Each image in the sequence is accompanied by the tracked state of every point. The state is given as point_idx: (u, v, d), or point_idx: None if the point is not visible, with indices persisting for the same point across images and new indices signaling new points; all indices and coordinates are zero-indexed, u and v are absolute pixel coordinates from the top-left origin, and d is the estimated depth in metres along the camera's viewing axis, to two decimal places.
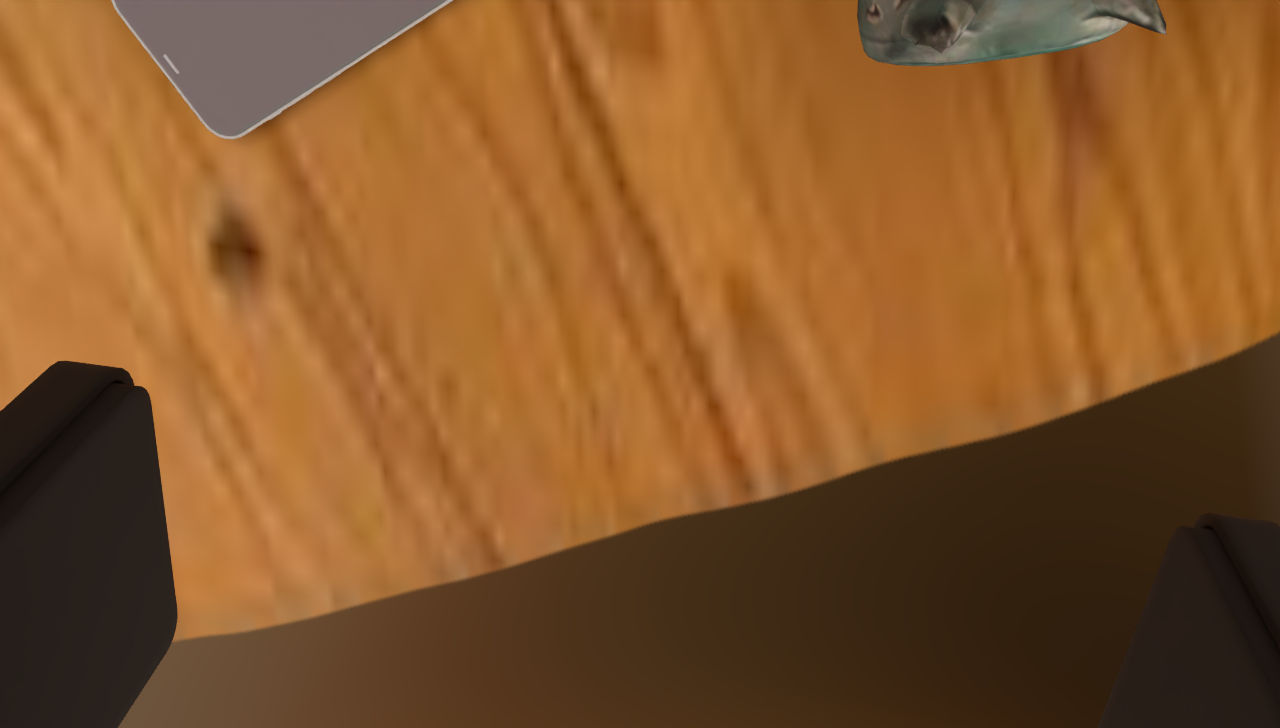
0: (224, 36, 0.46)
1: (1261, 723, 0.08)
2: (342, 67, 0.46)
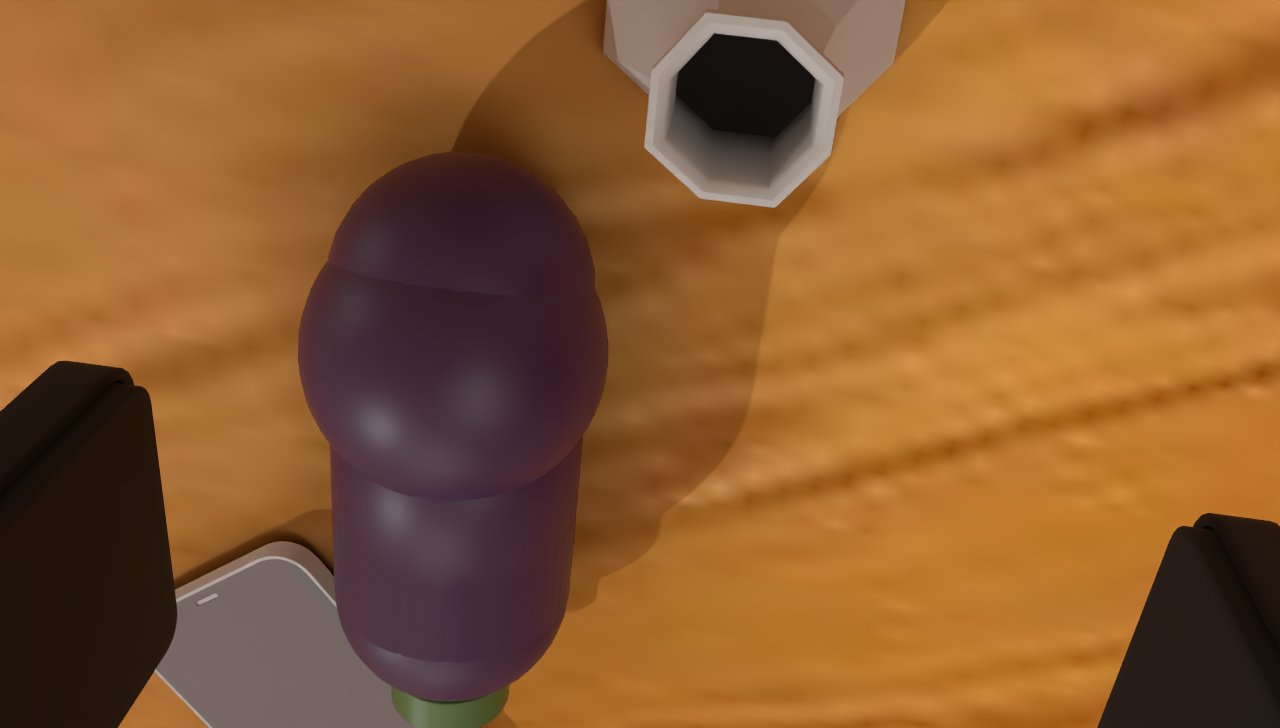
0: (253, 659, 0.38)
1: (1261, 724, 0.08)
2: None
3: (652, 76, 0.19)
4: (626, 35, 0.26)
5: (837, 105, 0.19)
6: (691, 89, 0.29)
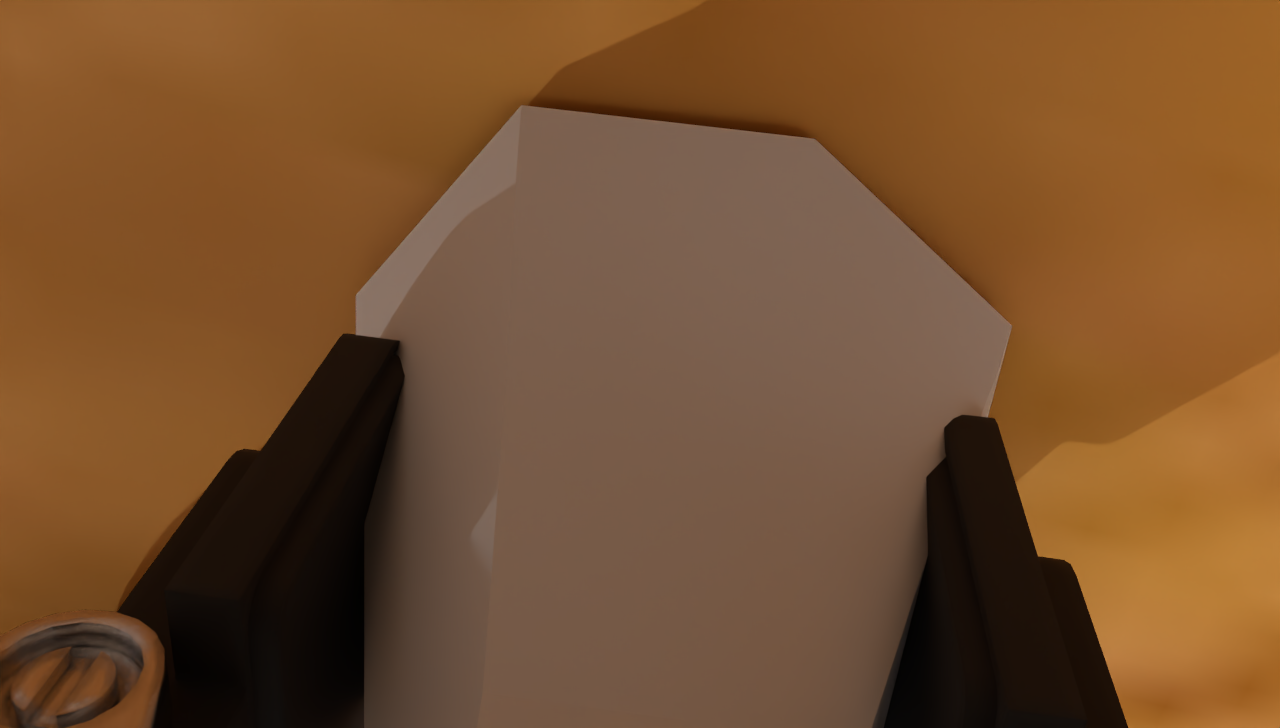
0: None
1: (932, 578, 0.09)
2: None
3: None
4: None
5: None
6: None
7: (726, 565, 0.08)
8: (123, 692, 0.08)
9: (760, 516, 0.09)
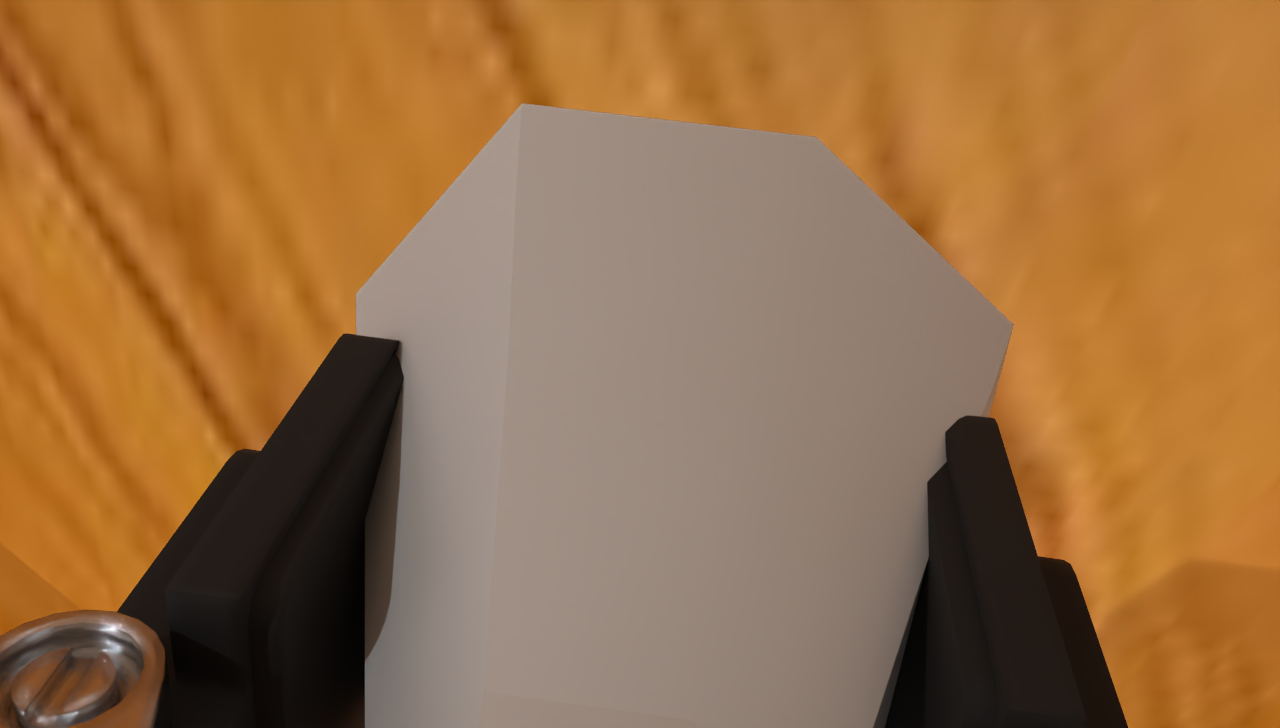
0: None
1: (933, 578, 0.09)
2: None
3: None
4: None
5: None
6: None
7: (727, 562, 0.08)
8: (123, 692, 0.08)
9: (762, 515, 0.09)
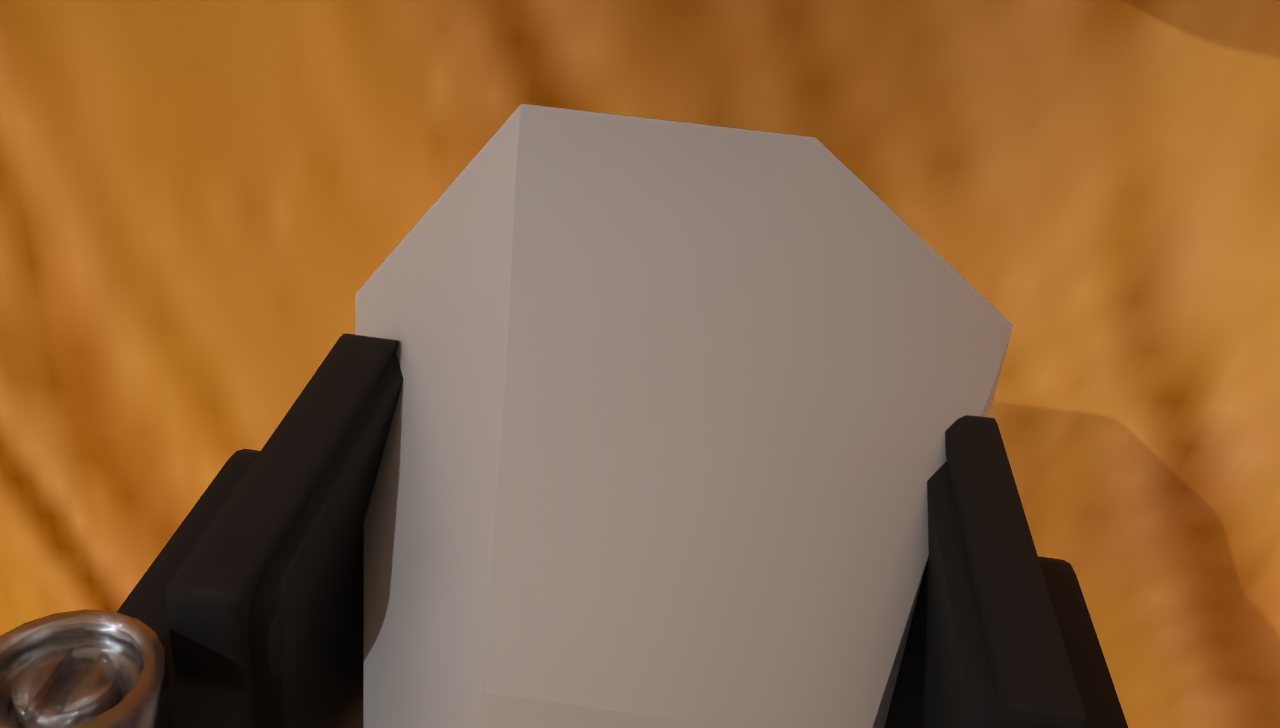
0: None
1: (933, 578, 0.09)
2: None
3: None
4: None
5: None
6: None
7: (725, 564, 0.08)
8: (123, 692, 0.08)
9: (762, 517, 0.09)
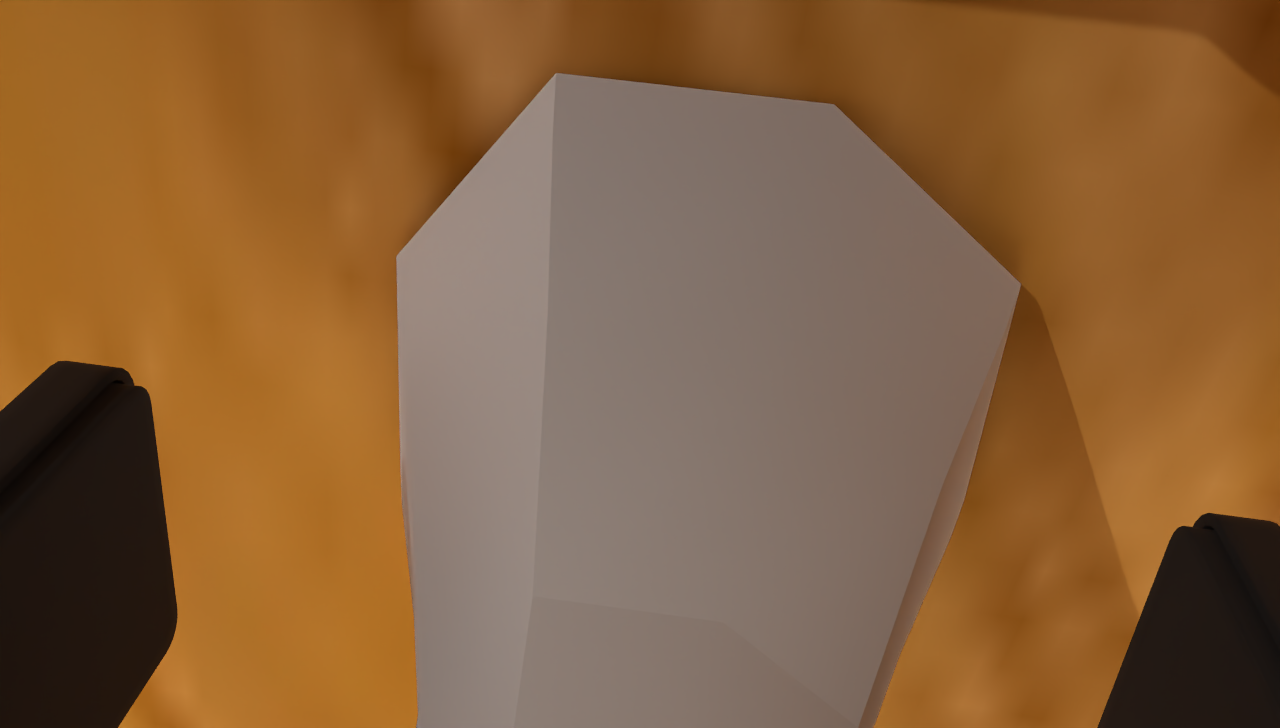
0: None
1: (1261, 723, 0.08)
2: None
3: None
4: (407, 515, 0.12)
5: None
6: None
7: (755, 486, 0.09)
8: None
9: (787, 445, 0.09)
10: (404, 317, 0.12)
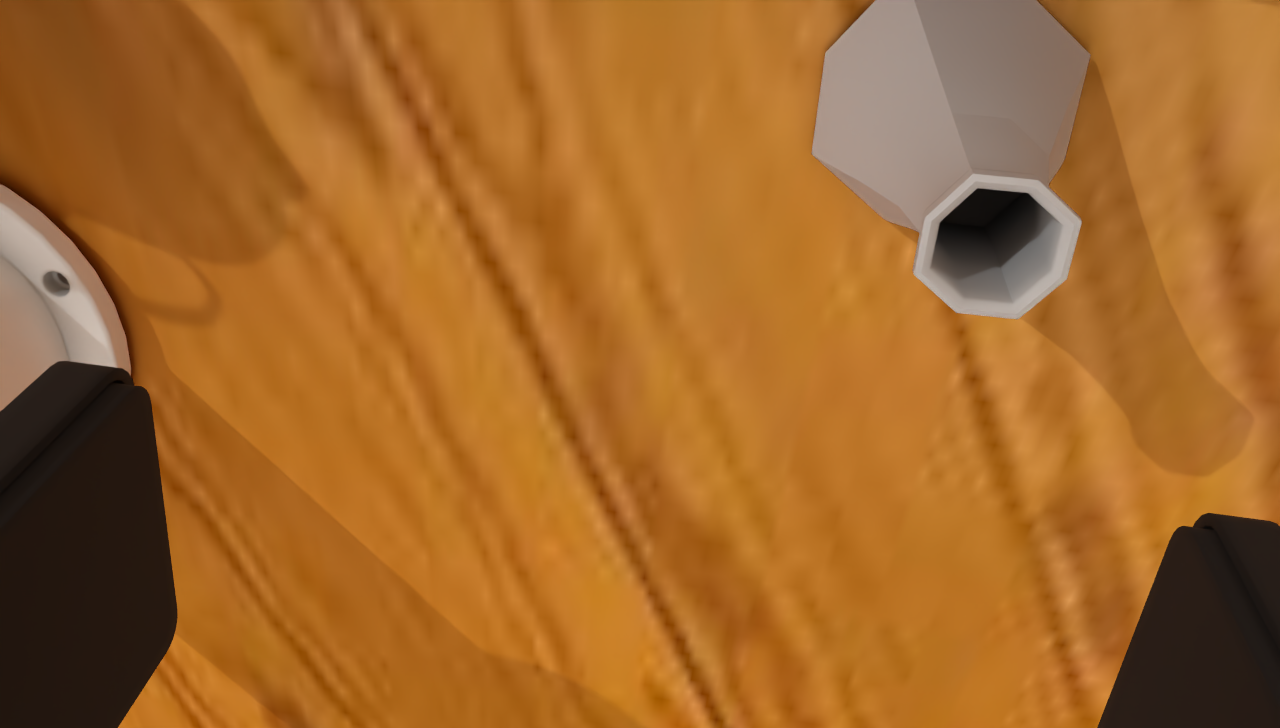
0: None
1: (1261, 723, 0.08)
2: None
3: (925, 221, 0.24)
4: (846, 148, 0.31)
5: (1075, 242, 0.24)
6: None
7: (1011, 90, 0.27)
8: None
9: (1018, 81, 0.28)
10: (843, 69, 0.31)
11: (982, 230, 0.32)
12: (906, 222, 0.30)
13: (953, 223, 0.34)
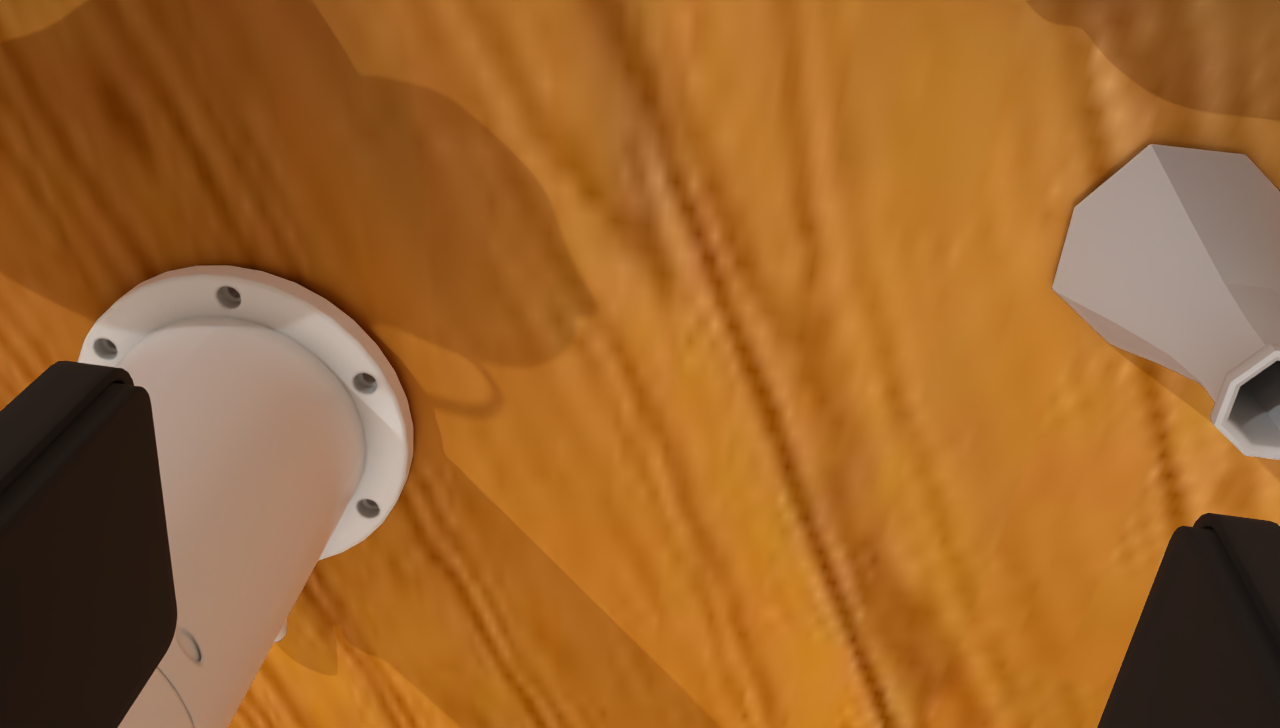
0: None
1: (1261, 723, 0.08)
2: None
3: (1230, 385, 0.30)
4: (1099, 293, 0.37)
5: None
6: None
7: (1265, 261, 0.33)
8: None
9: (1268, 252, 0.34)
10: (1097, 226, 0.37)
11: None
12: (1155, 358, 0.36)
13: None
